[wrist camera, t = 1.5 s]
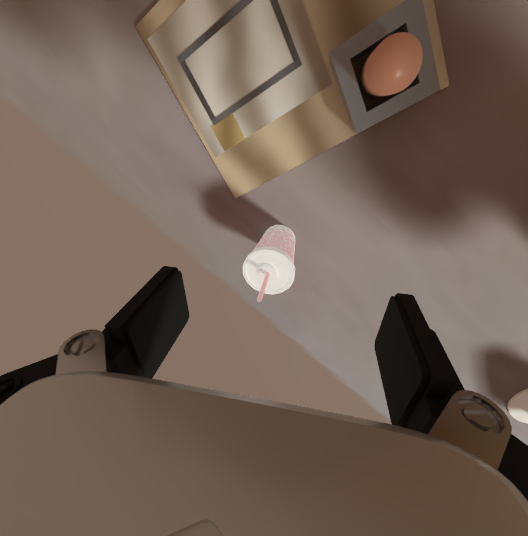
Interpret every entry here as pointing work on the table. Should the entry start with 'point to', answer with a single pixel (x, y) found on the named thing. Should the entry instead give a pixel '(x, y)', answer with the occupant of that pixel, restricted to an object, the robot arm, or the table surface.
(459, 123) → the table surface
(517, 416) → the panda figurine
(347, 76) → the button housing
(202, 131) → the board
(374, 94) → the button
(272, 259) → the beverage cup
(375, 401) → the table surface
